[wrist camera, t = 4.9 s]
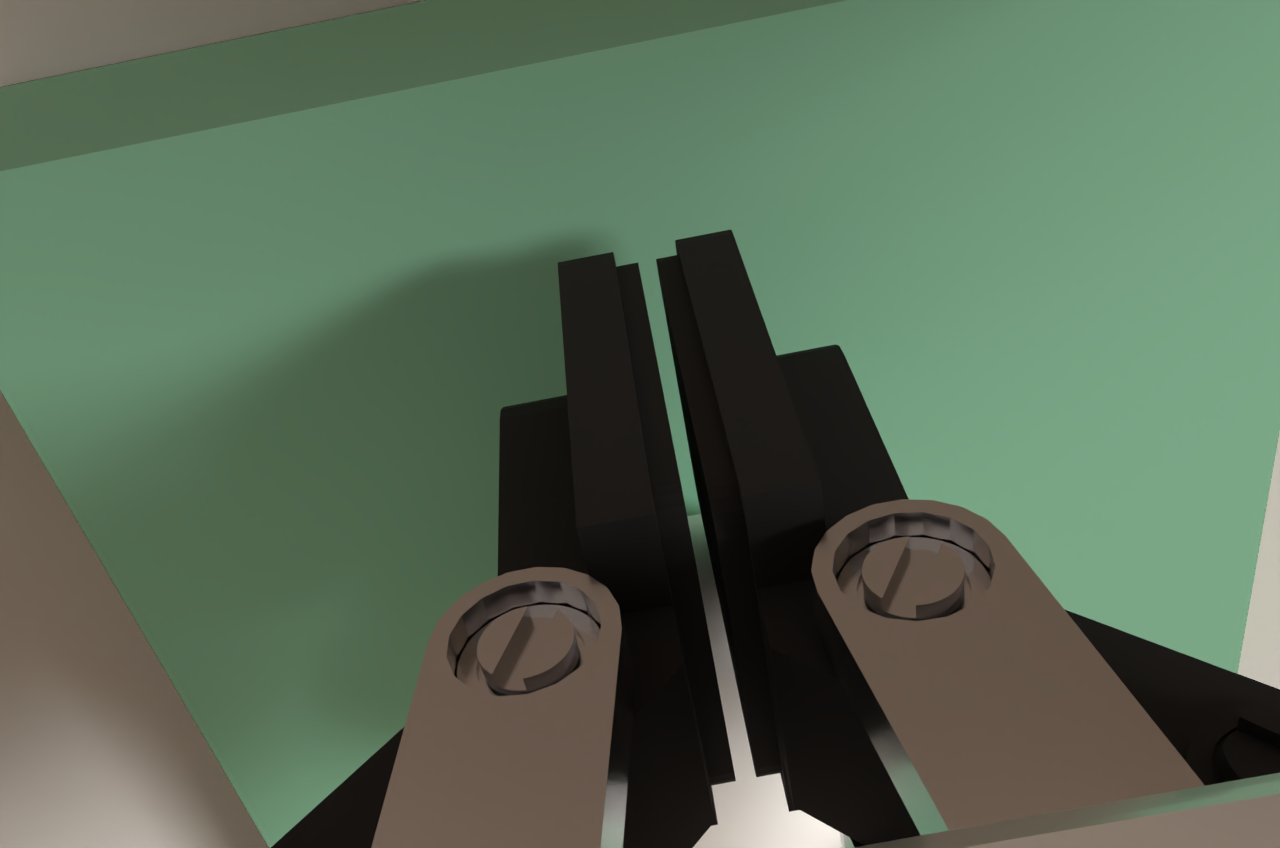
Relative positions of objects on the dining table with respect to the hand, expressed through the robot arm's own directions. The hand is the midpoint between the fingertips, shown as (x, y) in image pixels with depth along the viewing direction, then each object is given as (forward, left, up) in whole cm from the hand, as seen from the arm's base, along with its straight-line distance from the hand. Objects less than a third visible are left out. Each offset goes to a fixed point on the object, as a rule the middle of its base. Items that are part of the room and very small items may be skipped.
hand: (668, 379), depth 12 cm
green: (0, +9, -4) cm, 10 cm away
